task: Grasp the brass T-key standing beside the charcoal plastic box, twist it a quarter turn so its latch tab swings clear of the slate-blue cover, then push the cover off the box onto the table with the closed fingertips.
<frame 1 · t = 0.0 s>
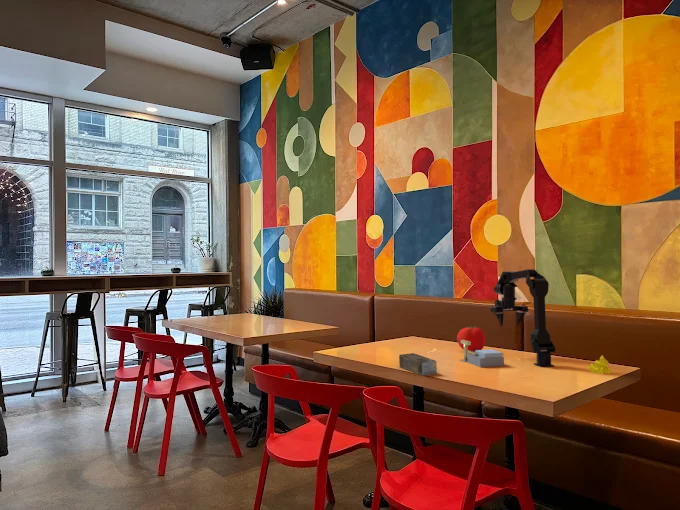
hand: (509, 326, 266), 15 cm above the table, fingers open, 9 cm apart
beverage carton: (417, 371, 229), on the table
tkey: (468, 351, 248), point 5 cm above the table, hinge at 0.0°
yellow crystal cluster: (599, 373, 223), on the table
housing: (485, 364, 242), on the table
tomato: (470, 352, 275), on the table
cover: (488, 355, 241), point 4 cm above the table, touching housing
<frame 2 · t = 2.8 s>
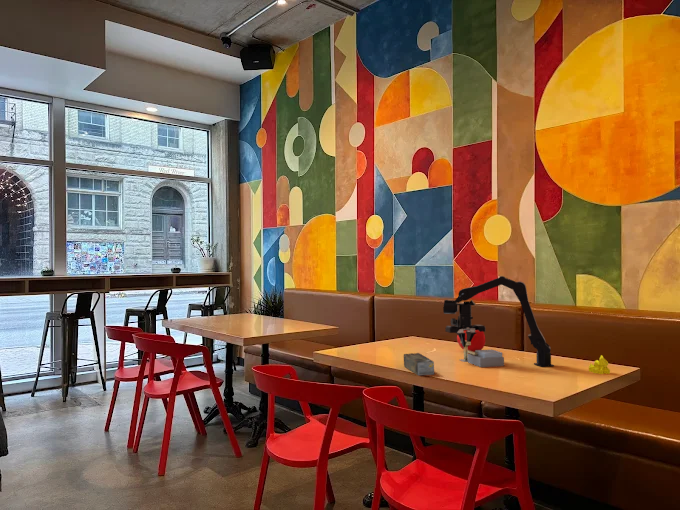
hand: (465, 346, 251), 7 cm above the table, fingers closed on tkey, 2 cm apart
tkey: (468, 351, 248), point 5 cm above the table, hinge at 0.0°, touching gripper
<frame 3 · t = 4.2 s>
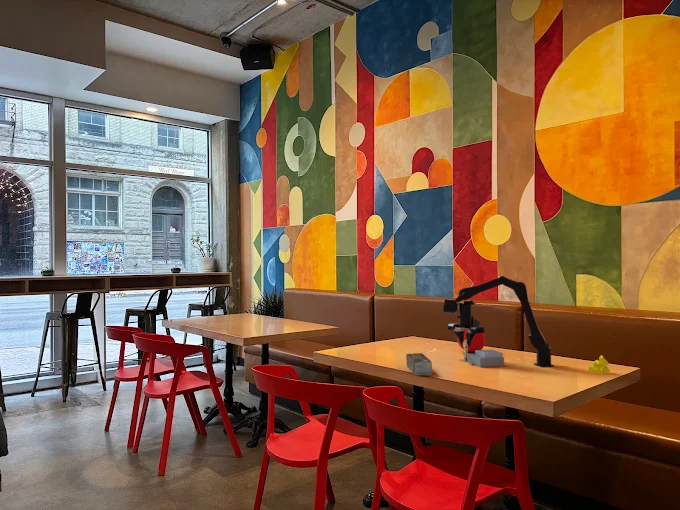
hand: (465, 346, 251), 7 cm above the table, fingers closed on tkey, 4 cm apart
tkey: (465, 351, 248), point 5 cm above the table, hinge at -34.1°, touching gripper
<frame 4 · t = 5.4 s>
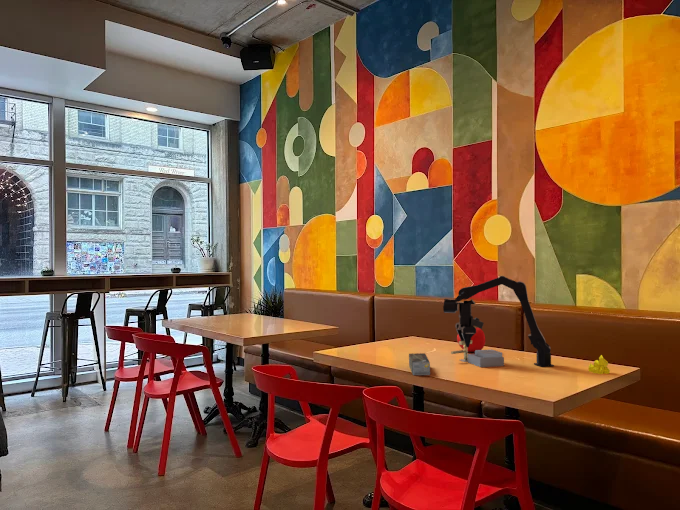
hand: (465, 345, 251), 7 cm above the table, fingers open, 9 cm apart
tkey: (461, 351, 249), point 5 cm above the table, hinge at -72.4°
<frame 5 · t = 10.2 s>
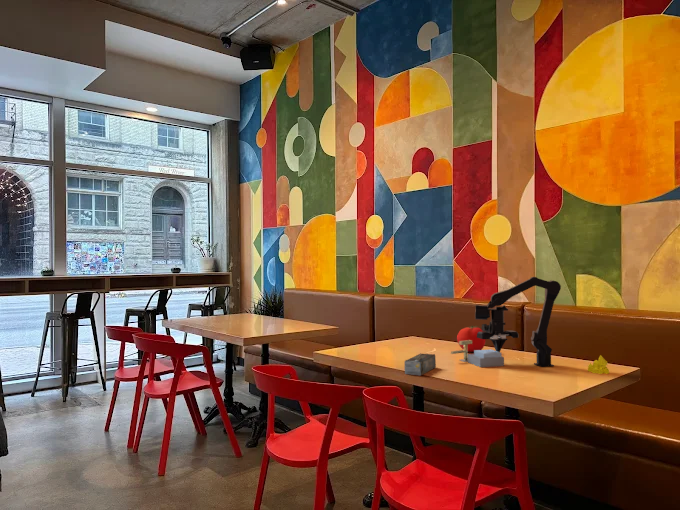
hand: (497, 353, 242), 5 cm above the table, fingers closed
cover: (487, 355, 241), point 4 cm above the table, touching gripper
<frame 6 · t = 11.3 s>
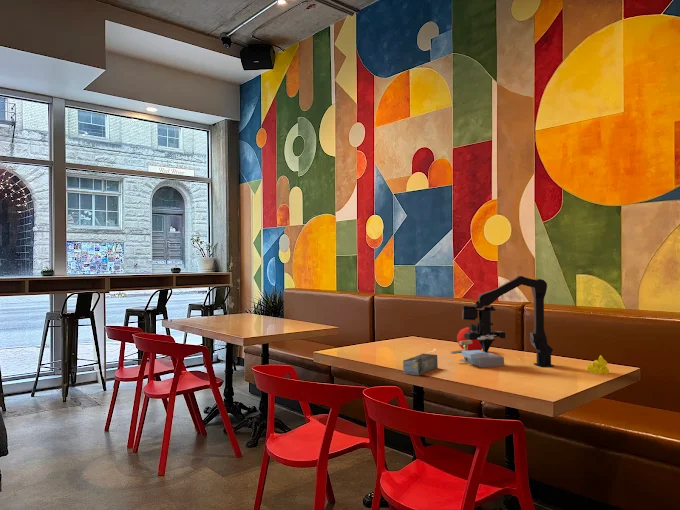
hand: (485, 353, 241), 5 cm above the table, fingers closed
cover: (474, 356, 240), point 4 cm above the table, touching gripper
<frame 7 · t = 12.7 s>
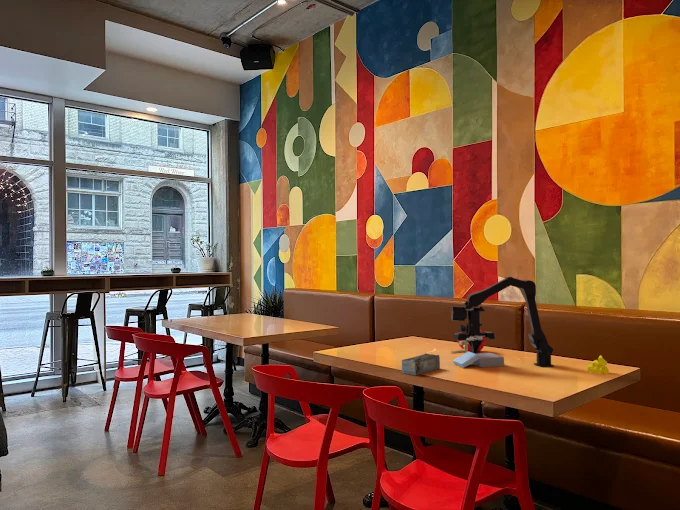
hand: (474, 354, 240), 5 cm above the table, fingers closed
cover: (466, 361, 239), point 2 cm above the table, tilted 26°
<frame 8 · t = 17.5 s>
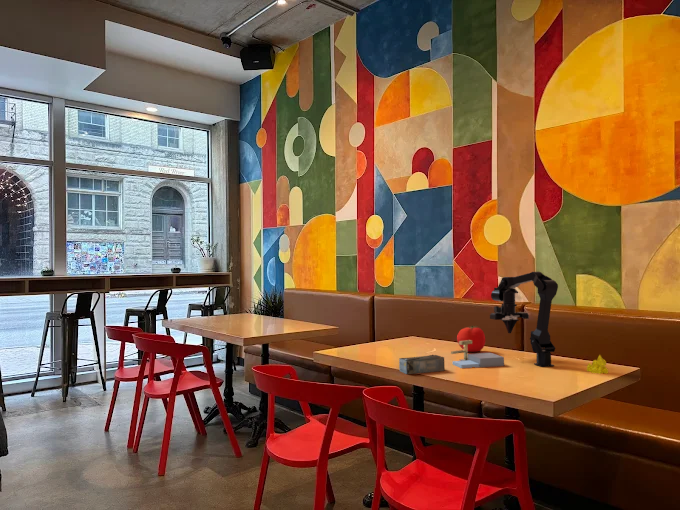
hand: (509, 333, 258), 12 cm above the table, fingers closed
cover: (465, 366, 238), on the table
at the end: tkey at -73° (first picture: +0°); cover inside the target area (8.9 cm from its centre), on the table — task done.
